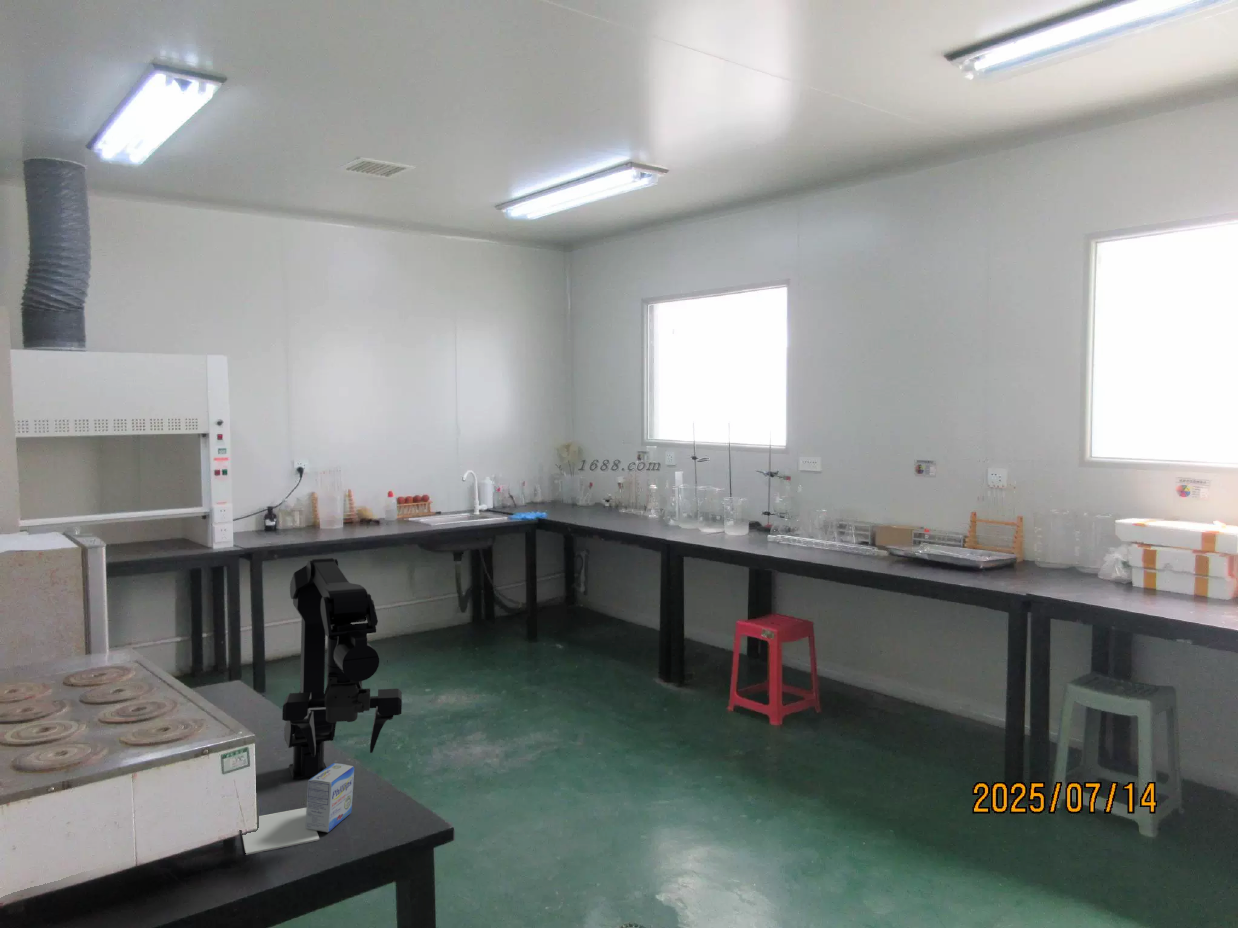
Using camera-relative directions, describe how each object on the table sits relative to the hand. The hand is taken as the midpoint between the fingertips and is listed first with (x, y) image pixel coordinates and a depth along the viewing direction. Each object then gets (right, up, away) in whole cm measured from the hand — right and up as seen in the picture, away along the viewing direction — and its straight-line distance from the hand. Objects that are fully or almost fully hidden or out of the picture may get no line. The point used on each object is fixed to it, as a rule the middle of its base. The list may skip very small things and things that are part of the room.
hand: (342, 753), depth 140 cm
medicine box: (-4, -13, +4) cm, 15 cm away
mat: (-11, -13, +1) cm, 17 cm away
